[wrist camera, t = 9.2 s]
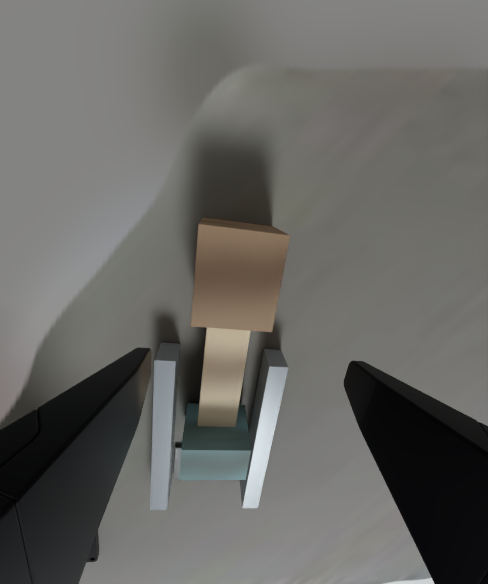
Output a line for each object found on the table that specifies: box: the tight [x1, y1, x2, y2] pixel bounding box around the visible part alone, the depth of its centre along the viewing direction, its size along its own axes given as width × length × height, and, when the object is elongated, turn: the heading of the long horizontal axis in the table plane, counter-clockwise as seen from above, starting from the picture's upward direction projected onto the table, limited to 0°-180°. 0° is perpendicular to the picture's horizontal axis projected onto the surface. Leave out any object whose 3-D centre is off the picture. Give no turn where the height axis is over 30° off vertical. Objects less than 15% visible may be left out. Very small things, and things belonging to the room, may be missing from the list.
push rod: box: [179, 328, 251, 480], centre depth 20 cm, size 12×5×4 cm, turn 172°
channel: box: [150, 342, 288, 510], centre depth 24 cm, size 16×10×2 cm, turn 172°
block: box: [191, 217, 290, 332], centre depth 18 cm, size 6×5×5 cm
